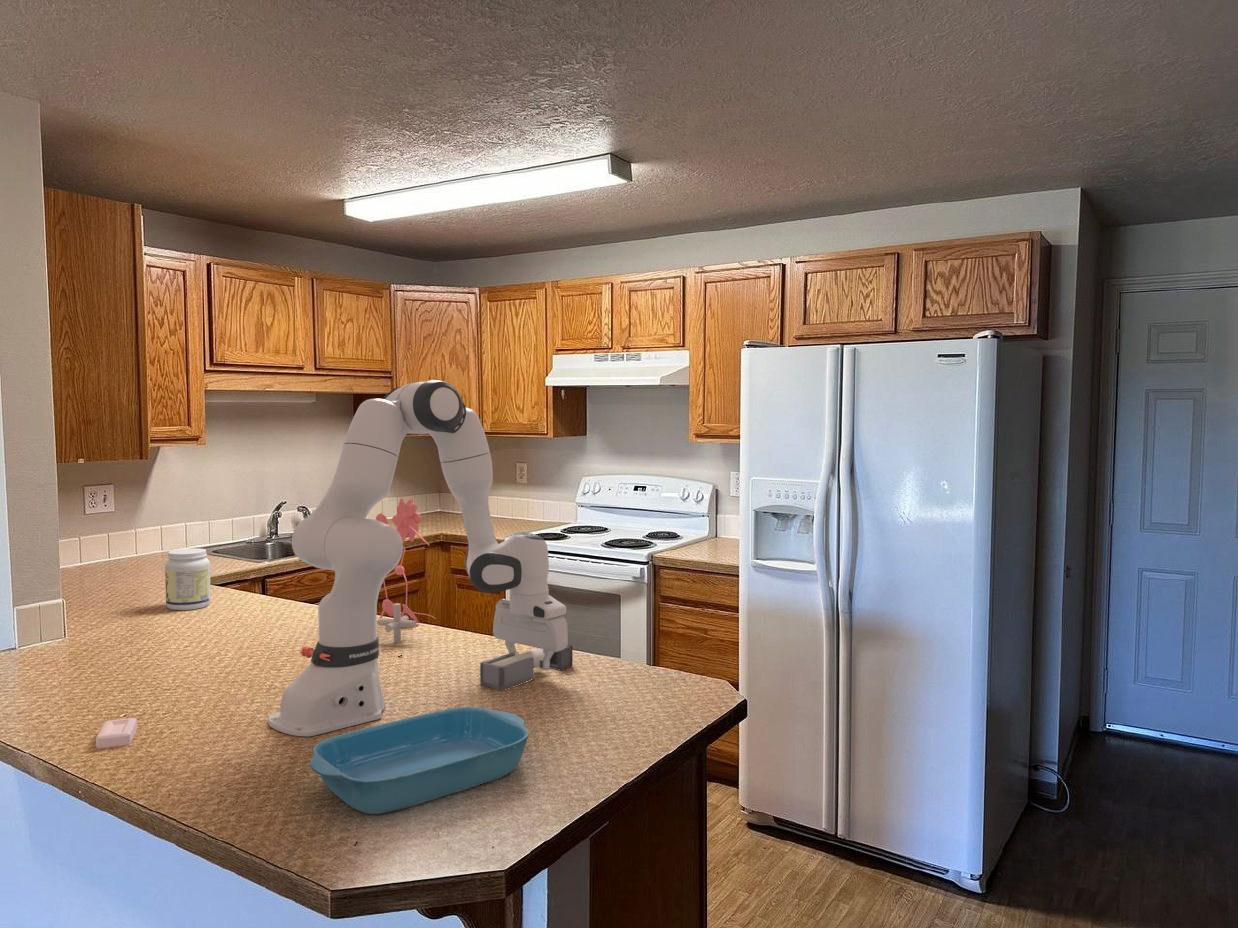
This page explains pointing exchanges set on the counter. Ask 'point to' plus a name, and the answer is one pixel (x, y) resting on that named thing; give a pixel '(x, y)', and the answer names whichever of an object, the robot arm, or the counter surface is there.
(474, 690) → the counter surface
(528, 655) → the slip tube
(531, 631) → the robot arm
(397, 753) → the casserole dish
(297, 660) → the counter surface
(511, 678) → the sleeve
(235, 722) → the counter surface
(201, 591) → the supplement tub
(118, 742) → the soap bar
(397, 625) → the pipe connector
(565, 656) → the socket
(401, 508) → the figurine
